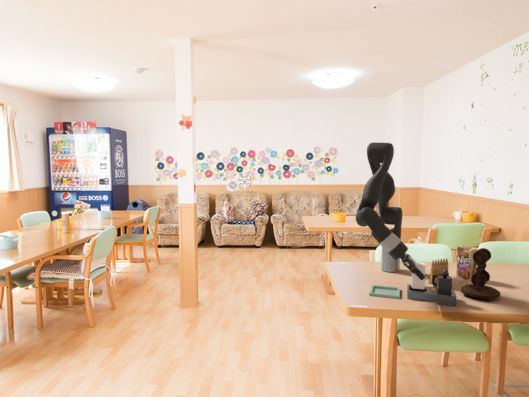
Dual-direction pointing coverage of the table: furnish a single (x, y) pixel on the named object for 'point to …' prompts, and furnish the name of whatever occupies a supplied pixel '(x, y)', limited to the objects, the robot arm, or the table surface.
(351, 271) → the table surface
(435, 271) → the ammunition clip
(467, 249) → the candy box
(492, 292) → the turned wooden stand
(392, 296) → the tray
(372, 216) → the robot arm
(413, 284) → the plug
